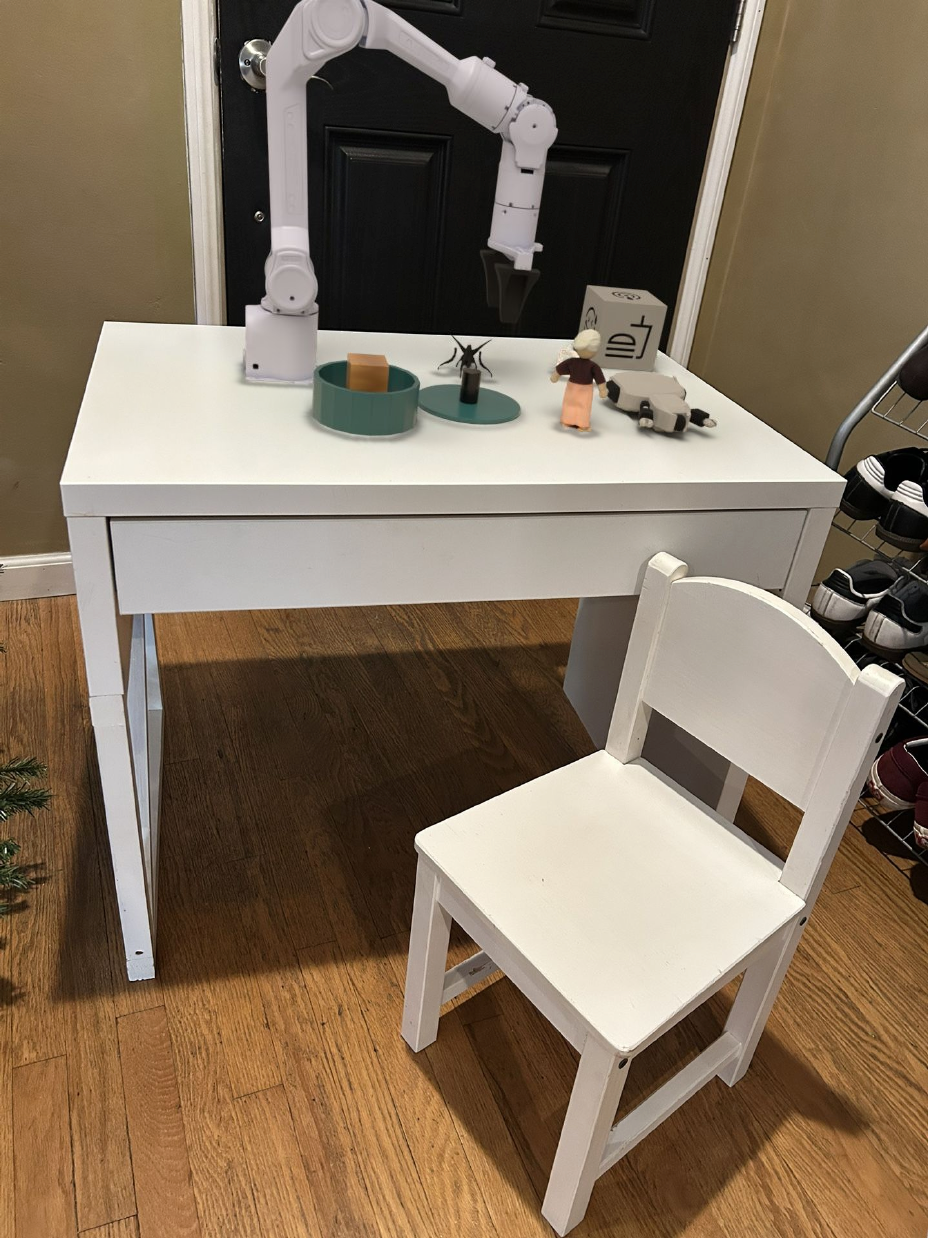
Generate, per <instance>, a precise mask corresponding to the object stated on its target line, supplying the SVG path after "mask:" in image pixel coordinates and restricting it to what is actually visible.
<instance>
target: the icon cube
mask: <svg viewBox="0 0 928 1238" xmlns="http://www.w3.org/2000/svg"><path fill="white" fill-rule="evenodd" d="M667 310H668V305H666V304H665V303H663V302H662V301H661V300H660V299H658V298H657V297H656V296H654V295H653V294H652V293H650V292H649V291H648V290H643V289H634V288H633V289H632V288H622V287H611V286H610V287H609V286H601V285H588V284H587V285H586V289H585V294H584V300H583V306H582V312H581V317H580V323H579V328H578V334H579V333H580V332H582V331H584V330H588V329H592V330H595V331H597V332H598V333H599V334H600V337H601V339H600V342H601V343H600V344H599V347H598V350H597V353H596V355H595V356H594V357H593V358H591V359H589V360H591V361H593V362H595V363H596V364H598V365H599V366H600V368H601V369H616V370H617V369H618V370H628V371H629V370H630V371H640V372H654V367H655V364H656V360H657V354H658V351H659V346H660V341H661V338H662V332H663V328H664V324H665V320H666V315H667ZM578 334H577V335H578Z"/></svg>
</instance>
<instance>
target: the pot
mask: <svg viewBox="0 0 928 1238" xmlns="http://www.w3.org/2000/svg"><path fill="white" fill-rule="evenodd" d="M388 365H389V375H388V388H387V392H377V393H373V392H364V391H355V390H350V389H346V376H347V359H344V360H336V361H335V360H334V361H328V362H325V363H322V364H319V365H317V368H316V369H315V370H314V371H313V381H312V382H313V383H312V400H311V402H312V403H311V415H312V418H313V419H314V420H315V421H316V422H318V423H319V424H320V425H322V426H325V427H327V428H329V429H331V430H334V431H338V432H341V433H342V432H343V433H346V434H351V435H356V436H357V435H358V436H369V437H375V436H379V437H381V436H382V437H383V436H392V435H393V436H394V435H398V434H403V433H406V432H408V431H410V430H412V429H414V427H415V426H416V424H417V421H418V409H419V406H418V400H419V390H421V389H420V388H421V381H420V379H419V377H418V376H417V375H416V374H414V373H413V372H411V371H410V370H408V369H406V368H405V369H404V368H402V367H401V366H397V365H393V364H389V363H388Z"/></svg>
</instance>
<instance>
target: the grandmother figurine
mask: <svg viewBox="0 0 928 1238" xmlns="http://www.w3.org/2000/svg"><path fill="white" fill-rule="evenodd" d="M578 333H579V332H578ZM600 339H601V337H600V334H599V333H598V332H597V331H595V330H592V329H588V330H584V331H582V332H580V333H579V334H577V335H576V336H575V337H574V339H573V343H571V346H572V347H573V349H575V351H576V353H577V354H578V355H579V358H576V357H573V358H571V357H569V358H566V359H563V362H561V363H560V364H558V365H557V366H556V365H555V369H556V370H554V371H553V373H552V375H550V378H549V380H550V382H551V383H554V384H556V383H557V382H558V381H559V380H560V378H561V377H563V376H562V375H570V377H568V379H567V381H566V386H565V390H564V395H563V399H562V406H561V415H560V421H561V423H560V425H561V426H562V427H564V428H569V427H572V426H577V428H576V431H579V432H590V431H592V430H593V428H592V426H590V422H591V416H592V405H593V399H594V390H595V389H594V383H595V384H596V386H597V389H598V396H599V398H600V399H606V398H608V397H607V392H606V382H607V380H606V377H605V374H604V372H603V369H602V368H601V367H600V366H599V365H598V364H596V363H595V362H593V361H591V360H589V359H591V358H593V357H594V356H595V355H596V353H597V350H598V347H599V344H600V343H601V342H600ZM593 379H594V380H595V382H593Z"/></svg>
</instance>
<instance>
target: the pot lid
mask: <svg viewBox="0 0 928 1238" xmlns="http://www.w3.org/2000/svg"><path fill="white" fill-rule="evenodd" d="M482 373H483V372H482V371H481V370H480V369H479V368H477V369H475V368H474V367H470V368H467V367H466V368H463V369H462V373H461V382H460V384H458V383H444V384H434V385H429V386H426V387H422V388H421V389H420V390H419V400H418V408H421V409H422V410H423V411H425V412H427V413H429V414H432V415H433V416H436V417H439V418H442V419H444V420H448V421H449V420H450V421H454V422H459V423H466V424H475V425H496V424H502V423H503V424H504V423H507V422H511V421H514V420H515V419H517V418H518V417H519V416H520V414H521V410H522V409H521V405H520V403H518V401H517V400H515V398H512V397H511V396H509V395H507V394H505V393H502V392H500V391H496V390H494V389H490V388H486V387H481V379H482Z"/></svg>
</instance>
